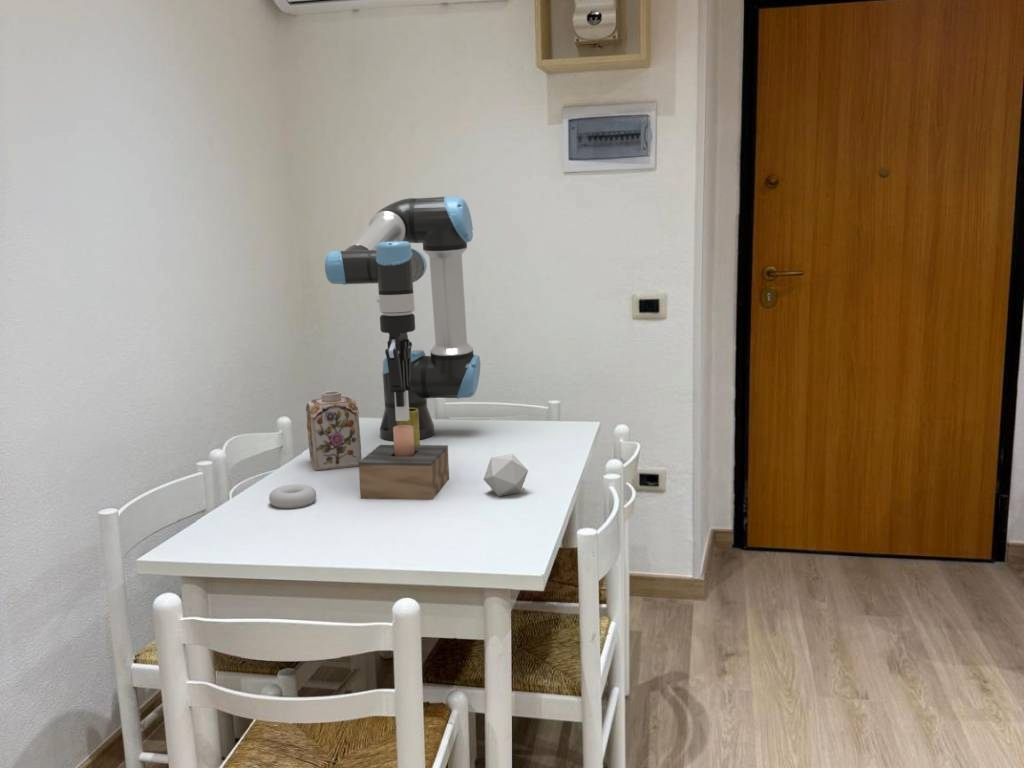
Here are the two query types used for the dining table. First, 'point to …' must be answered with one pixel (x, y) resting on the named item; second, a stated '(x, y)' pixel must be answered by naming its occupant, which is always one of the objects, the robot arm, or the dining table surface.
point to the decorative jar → (333, 431)
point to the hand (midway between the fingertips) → (402, 420)
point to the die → (505, 475)
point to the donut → (292, 496)
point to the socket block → (404, 473)
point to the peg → (403, 440)
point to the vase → (413, 424)
